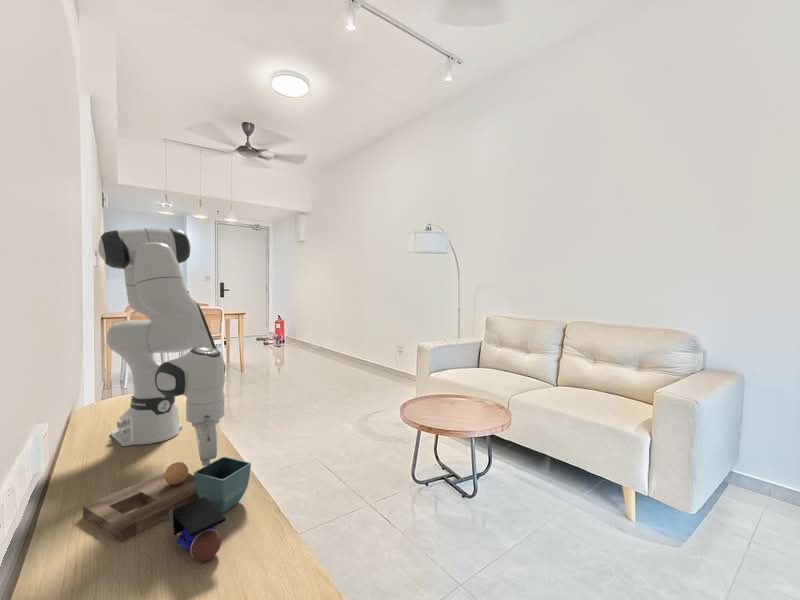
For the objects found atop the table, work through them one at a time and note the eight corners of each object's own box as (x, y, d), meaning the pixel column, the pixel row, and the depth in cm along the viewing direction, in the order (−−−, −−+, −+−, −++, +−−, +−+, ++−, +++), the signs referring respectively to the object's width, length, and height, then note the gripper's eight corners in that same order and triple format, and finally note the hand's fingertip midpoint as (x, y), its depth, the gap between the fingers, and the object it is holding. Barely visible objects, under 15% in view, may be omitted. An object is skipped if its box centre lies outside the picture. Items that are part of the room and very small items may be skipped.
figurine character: (165, 542, 76) (191, 574, 65) (164, 504, 76) (189, 529, 66) (201, 527, 81) (230, 554, 70) (200, 491, 81) (228, 512, 71)
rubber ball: (160, 485, 90) (159, 464, 89) (180, 476, 94) (180, 456, 94) (172, 491, 87) (172, 470, 87) (192, 481, 92) (192, 461, 91)
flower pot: (222, 521, 81) (222, 480, 80) (192, 511, 84) (192, 472, 83) (252, 499, 89) (252, 462, 88) (223, 492, 92) (223, 456, 92)
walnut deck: (83, 517, 81) (83, 505, 81) (175, 477, 98) (175, 467, 98) (121, 542, 73) (121, 529, 73) (214, 494, 91) (214, 484, 91)
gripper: (223, 421, 89) (223, 477, 90) (215, 399, 107) (215, 446, 107) (193, 425, 86) (193, 484, 87) (190, 402, 104) (190, 451, 104)
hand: (205, 463), depth 97 cm, fingers closed
